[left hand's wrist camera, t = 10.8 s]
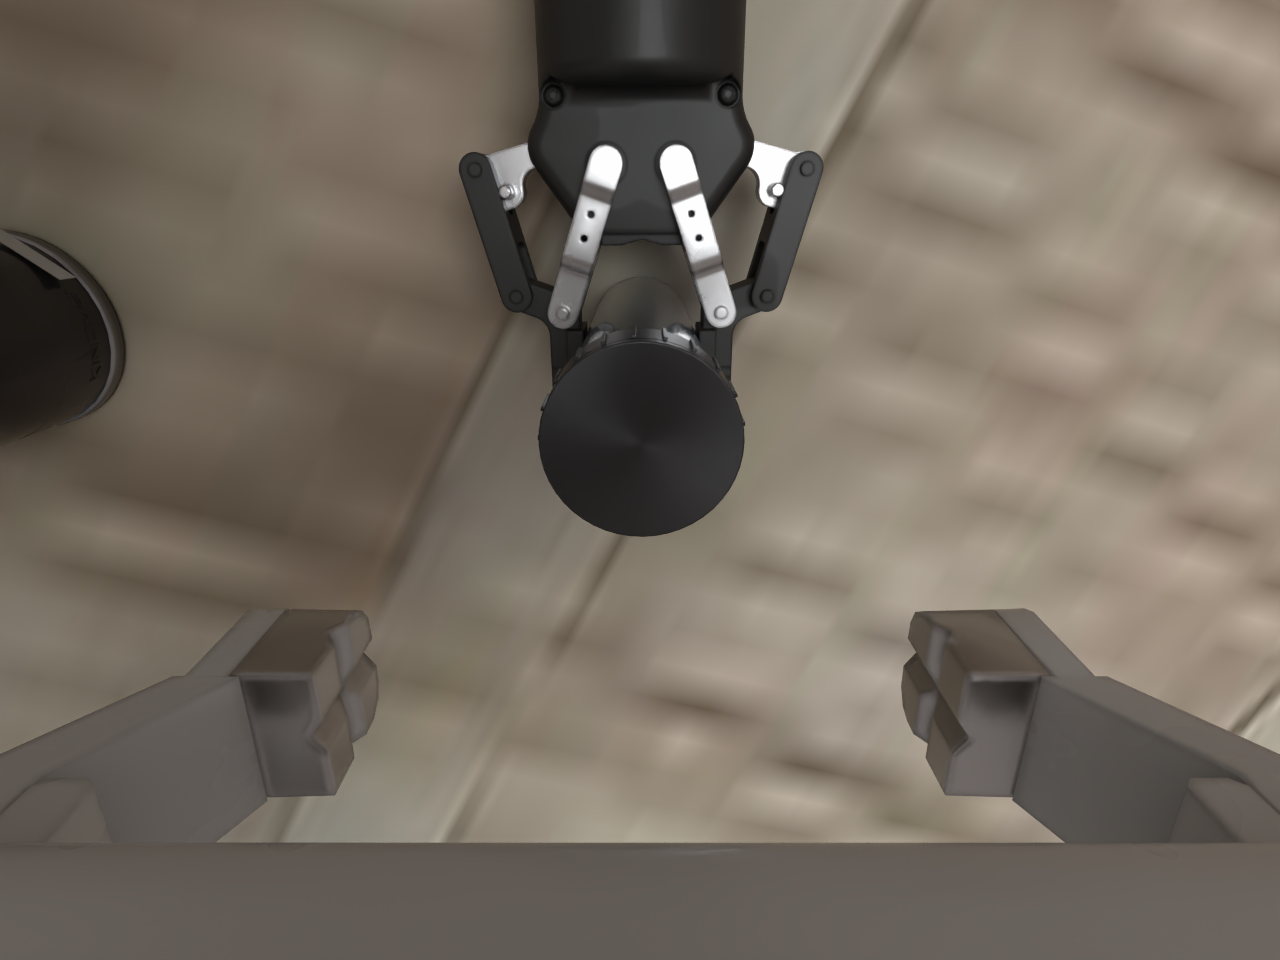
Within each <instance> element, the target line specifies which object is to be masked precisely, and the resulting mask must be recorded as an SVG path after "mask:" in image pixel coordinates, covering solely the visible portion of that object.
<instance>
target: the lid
mask: <svg viewBox="0 0 1280 960" xmlns="http://www.w3.org/2000/svg"><path fill="white" fill-rule="evenodd" d="M553 383H554V386H553V388H552V390H551V393H550V394H547V396H546V398H545V401H544V403H543V405H542V407H541V411H543V413H542V416H541V420H540V427H539V435H538V440H539V450H540V457H541V461H542V465H543V468H544V471H545V473H546V476H547V478H548V480H549V482H550V484H551V486H552V487H553V489H554V491H555V492H556V494H557V495H558V496H559V497H560V499H561V500H562V501H563V503H565V504H566V505H567V506H568V507H569V508H570V509H571V510H572V511H573V512H574V513H575V514H577V515H578V516H579V517H581V518H582V519H584V520H585V521H587V522H589V523H590V524H592V525H594V526H596V527H599V528H601V529H603V530H606V531H609V532H613V533H616V534H621V535H627V536H640V537H645V536H657V535H662V534H667V533H671V532H674V531H677V530H680V529H682V528H684V527H687V526H689V525H691V524H693V523H694V522H696V521H698V520H699V519H701V518H703V517H704V516H705V515H706V514H708V513H709V512H710V511H711V510H713V509H714V508H715V506H716V505H717V504H718V503H719V502H720V501H721V500H722V499H723V498H724V496H725V495H726V494H727V492H728V491H729V489H730V488H731V486H732V484H733V482H734V480H735V479H736V476H737V473H738V471H739V468H740V465H741V461H742V457H743V451H744V426H745V422H744V420H743V417H742V415H741V412H740V409H739V406H738V403H737V401H736V399H735V398H736V397H738V396H737V393H736V391H735V389H734V387H733V385H732V383H731V381H728V382H727V380H726V378H725V376H724V374H723V373H722V370H721V368H720V366H719V364H718V362H717V359H716V358H715V357H713V358H711V357H710V356H709V355H708V354H707V353H706V352H705V351H703V350H702V349H701V348H700V347H698V346H697V345H696V344H695V342H694V340H693V339H691V338H690V340H687V339H685V338H683V337H681V336H679V335H676V334H673V333H670V332H667V330H666V328H662V330H657V329H649V328H636V325H634V326H632V329H625V330H621V331H616V332H613V333H610V334H607V332H604V333H603V334H602V337H600V338H598V339H596V340H594V341H592V342H591V343H589V344H588V345H586V346H585V347H583V348H581V346H580V347H579V348H577V351H576V353H575V355H574V356H573V357H572V358H571V359H570V360H569V362H568V363H567V364H566V365H565V367H564V368H563V369H562V368H559V370H558V372H557V374H556V376H555V378H554V380H553Z"/></svg>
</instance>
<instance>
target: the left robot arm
mask: <svg viewBox="0 0 1280 960" xmlns="http://www.w3.org/2000/svg"><path fill="white" fill-rule="evenodd" d="M371 639H372V635H371V630H370V625H369V620H368V617H367V616H366V615H365V613H364V612H363V611H358V610H307V609H292V610H289V609H256V610H250V611H247V612H246V613H245V614H244V615H243V616H242V617H241V619H240V620H239V621H238V622H237V623H236V624H235V625H234V626H233V627H232V628H231V629H230V630H229V631H228V632H227V633H226V634H225V635H224V636H223V637H222V638H221V639H220V640H219V641H218V642H217V643H216V645H215V646H214V647H213V648H212V649H211V650H210V651H209V652H208V653H207V654H206V655H205V656H204V657H203V658H202V659H201V660H200V661H199V662H198V663H197V664H196V665H195V666H194V667H193V668H192V669H191V670H190V672H189V673H188V674H187V675H186V676H176V677H170V678H168V679H166V680H164V681H162V682H159V683H157V684H155V685H153V686H151V687H148V688H146V689H144V690H142V691H139V692H137V693H135V694H133V695H131V696H128V697H126V698H124V699H122V700H119V701H117V702H115V703H113V704H111V705H108V706H106V707H104V708H102V709H100V710H97V711H95V712H93V713H91V714H88V715H86V716H84V717H82V718H80V719H77V720H75V721H73V722H71V723H68V724H66V725H64V726H62V727H60V728H57V729H55V730H53V731H51V732H48V733H46V734H44V735H42V736H40V737H37V738H35V739H33V740H31V741H29V742H26V743H24V744H22V745H20V746H17V747H15V748H13V749H11V750H9V751H6V752H4V753H2V754H0V960H1280V754H1278V753H1275V752H1273V751H1271V750H1269V749H1267V748H1264V747H1262V746H1260V745H1258V744H1255V743H1253V742H1251V741H1249V740H1247V739H1244V738H1242V737H1240V736H1238V735H1236V734H1233V733H1231V732H1229V731H1227V730H1225V729H1222V728H1220V727H1218V726H1216V725H1213V724H1211V723H1209V722H1207V721H1205V720H1202V719H1200V718H1198V717H1196V716H1194V715H1191V714H1189V713H1187V712H1185V711H1183V710H1180V709H1178V708H1176V707H1174V706H1171V705H1169V704H1167V703H1165V702H1163V701H1160V700H1158V699H1156V698H1154V697H1152V696H1149V695H1147V694H1145V693H1143V692H1140V691H1138V690H1136V689H1134V688H1132V687H1129V686H1127V685H1125V684H1123V683H1121V682H1118V681H1116V680H1114V679H1112V678H1110V677H1104V676H1094V675H1093V674H1092V672H1091V671H1090V670H1089V669H1088V668H1087V667H1086V666H1085V665H1084V664H1083V663H1082V662H1081V661H1080V660H1079V659H1078V658H1077V657H1076V656H1075V655H1074V654H1073V653H1072V652H1071V651H1070V650H1069V649H1068V648H1067V646H1066V645H1065V644H1064V643H1063V642H1062V641H1061V640H1060V639H1059V638H1058V637H1057V636H1056V635H1055V634H1054V633H1053V632H1052V631H1051V630H1050V629H1049V628H1048V627H1047V626H1046V625H1045V624H1044V623H1043V621H1042V620H1041V619H1040V618H1039V617H1038V616H1037V615H1036V614H1035V613H1034V612H1032V611H1030V610H1027V609H1024V608H1021V609H996V610H956V611H921V612H915V614H914V616H913V618H912V620H911V623H910V629H909V635H908V639H909V641H910V643H911V644H912V646H913V648H914V649H915V651H916V653H915V654H914V655H913V656H912V658H911V659H910V660H909V661H908V662H907V663H906V664H905V665H904V667H903V676H902V684H901V689H902V701H903V708H904V712H905V715H906V719H907V721H908V724H909V726H910V728H911V730H912V732H913V734H914V735H916V736H917V737H919V738H920V739H922V740H923V741H925V742H926V743H928V746H927V752H926V759H927V761H928V763H929V765H930V767H931V769H932V771H933V773H934V775H935V777H936V778H937V780H938V782H939V784H940V786H941V788H942V790H943V792H944V794H945V795H951V796H987V797H1013V799H1012V800H1013V801H1014V802H1015V803H1016V804H1018V805H1019V806H1020V807H1021V808H1023V809H1024V810H1025V811H1026V812H1028V813H1029V814H1030V815H1031V816H1033V817H1034V818H1035V819H1036V820H1038V821H1039V822H1040V823H1041V824H1043V825H1044V826H1045V827H1046V828H1048V829H1049V830H1050V831H1051V832H1053V833H1054V834H1055V835H1056V836H1058V837H1059V838H1060V839H1061V840H1063V841H1064V842H1065V843H215V842H216V841H218V840H219V839H220V838H221V837H223V836H224V835H225V834H226V833H228V832H229V831H230V830H231V829H233V828H234V827H235V826H236V825H238V824H239V823H240V822H241V821H243V820H244V819H245V818H246V817H248V816H249V815H250V814H251V813H253V812H254V811H255V810H256V809H258V808H259V807H260V806H261V805H263V804H264V803H265V802H266V801H267V797H292V796H327V795H335V794H336V792H337V790H338V788H339V786H340V784H341V782H342V781H343V779H344V777H345V775H346V773H347V771H348V769H349V767H350V765H351V763H352V761H353V759H354V752H353V746H352V743H354V742H355V741H357V740H358V739H360V738H361V737H363V736H364V735H366V734H367V732H368V730H369V728H370V725H371V723H372V721H373V719H374V715H375V711H376V706H377V701H378V674H377V667H376V665H375V664H374V663H373V662H372V661H371V660H370V659H369V658H368V656H367V655H366V654H365V653H364V651H365V649H366V648H367V646H368V644H369V643H370V641H371Z"/></svg>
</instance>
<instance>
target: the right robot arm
mask: <svg viewBox="0 0 1280 960" xmlns="http://www.w3.org/2000/svg"><path fill="white" fill-rule="evenodd" d="M534 2H535V22H536V42H537V62H538V82H539V107H538V112H537V116H536V119H535V122H534V124H533V126H532V129H531V131H530V133H529V137H528V142H527V143H524V144H520V145H517V146H514V147H510V148H507V149H504V150H501V151H497V152H494V153H491V154H487V155H485V154H481V153H477V152H471V153H468V154H466V155H465V156H464V157H463V158H462V159H461V161H460V164H459V173H460V176H461V179H462V182H463V185H464V188H465V191H466V194H467V197H468V200H469V203H470V206H471V209H472V212H473V215H474V218H475V221H476V224H477V227H478V230H479V233H480V236H481V239H482V242H483V245H484V248H485V251H486V254H487V258H488V261H489V264H490V267H491V270H492V273H493V276H494V279H495V282H496V285H497V288H498V291H499V294H500V297H501V300H502V302H503V304H504V306H505V307H506V308H507V309H508V310H510V311H512V312H522V313H525V314H528V315H531V316H533V317H536V318H538V319H540V320H542V321H543V322H544V323H545V324H546V325H547V327H548V329H549V332H550V342H551V362H552V382H553V380H554V378H555V376H556V374H557V372H558V370H559V368H562V369H563V368H564V367H565V365H566V364H567V363H568V362H569V360H570V359H571V358H572V357H573V356H574V355H575V353H576V351H577V348H579V347H580V346H581V347H582V345H583V342H584V340H585V337H586V335H587V322H582V308H583V304H584V301H585V298H586V294H587V291H588V288H589V284H590V281H591V278H592V275H593V271H594V268H595V266H596V262H597V259H598V256H599V253H600V249H601V246H602V245H624V244H627V243H630V242H634V241H637V240H646V241H649V242H653V243H657V244H660V245H682V249H683V252H684V255H685V258H686V261H687V264H688V267H689V270H690V273H691V276H692V279H693V282H694V285H695V289H696V292H697V295H698V298H699V301H700V304H701V320H700V322H695V333H696V335H697V338H698V340H699V343H700V345H701V348H702V350H703V351H705V352H706V353H707V354H708V355H709V356H710V357H711V358H713V357H715V358H716V359H717V362H718V364H719V366H720V368H721V370H722V373H723V374H724V376H725V378H726V380H727V382H728V381H731V360H732V335H733V330H734V327H735V326H736V324H737V323H738V322H739V321H740V320H741V319H743V318H745V317H747V316H750V315H752V314H755V313H758V312H760V311H764V312H769V311H772V310H774V309H776V308H777V307H778V306H779V304H780V303H781V300H782V297H783V294H784V291H785V288H786V285H787V282H788V279H789V276H790V272H791V269H792V266H793V263H794V260H795V257H796V254H797V251H798V247H799V244H800V241H801V238H802V235H803V232H804V229H805V226H806V223H807V219H808V216H809V213H810V210H811V207H812V204H813V201H814V198H815V195H816V191H817V188H818V185H819V182H820V179H821V176H822V173H823V162H822V159H821V157H820V156H819V155H818V154H817V153H815V152H813V151H801V152H792V151H788V150H785V149H782V148H778V147H775V146H771V145H768V144H764V143H761V142H757V141H754V135H753V132H752V129H751V127H750V125H749V123H748V121H747V118H746V115H745V112H744V107H743V99H742V92H743V67H744V42H745V16H746V0H534ZM746 168H748V169H750V170H751V171H752V172H753V173H754V175H755V178H756V197H757V199H758V201H759V202H760V203H761V204H762V205H764V206H767V207H768V208H767V212H766V215H765V218H764V222H763V225H762V228H761V232H760V235H759V238H758V242H757V245H756V248H755V252H754V255H753V258H752V262H751V265H750V268H749V272H748V275H747V278H746V279H745V280H743V281H740V282H737V283H735V284H732V285H729V283H728V280H727V277H726V273H725V270H724V266H723V261H722V257H721V253H720V250H719V246H718V243H717V240H716V236H715V233H714V229H713V226H712V223H711V217H712V216H713V214H714V213H715V211H716V210H717V209H718V207H719V206H720V204H721V203H722V202H723V200H724V199H725V197H726V196H727V195H728V193H729V192H730V190H731V189H732V187H733V186H734V185H735V183H736V182H737V180H738V179H739V178H740V176H741V175H742V173H743V172H744V170H745V169H746ZM535 169H536V170H537V171H538V173H539V174H540V175H541V177H542V178H543V180H544V181H545V182H546V184H547V185H548V187H549V188H550V189H551V191H552V192H553V193H554V195H555V196H556V198H557V199H558V200H559V202H560V203H561V204H562V206H563V207H564V209H565V210H566V211H567V213H568V214H569V216H570V217H571V218H572V223H571V227H570V230H569V234H568V237H567V241H566V244H565V248H564V251H563V255H562V259H561V263H560V269H559V272H558V276H557V279H556V283H555V286H551V285H548V284H546V283H543V282H540V281H537V278H536V275H535V271H534V268H533V265H532V262H531V259H530V255H529V252H528V249H527V246H526V243H525V239H524V236H523V233H522V230H521V227H520V223H519V220H518V217H517V214H516V211H515V208H518V207H520V206H521V205H522V204H523V203H524V202H525V200H526V197H527V188H526V181H527V178H528V176H529V174H530V173H531V172H532V171H533V170H535ZM123 361H124V346H123V338H122V333H121V329H120V326H119V322H118V319H117V317H116V315H115V312H114V310H113V308H112V306H111V304H110V302H109V300H108V299H107V297H106V295H105V294H104V292H103V291H102V289H101V288H100V287H99V285H98V284H97V283H96V282H95V280H94V279H93V278H92V277H91V276H90V275H89V274H88V273H87V272H86V271H85V269H84V268H83V267H81V266H80V265H79V264H78V263H77V262H76V261H75V260H73V259H72V258H71V257H69V256H68V255H67V254H65V253H64V252H62V251H61V250H59V249H58V248H56V247H54V246H52V245H50V244H49V243H47V242H45V241H42V240H40V239H38V238H35V237H32V236H29V235H26V234H23V233H19V232H14V231H7V230H2V229H0V446H2V445H5V444H7V443H10V442H12V441H15V440H18V439H21V438H23V437H26V436H29V435H31V434H34V433H36V432H39V431H41V430H44V429H47V428H49V427H52V426H54V425H60V424H64V423H68V422H70V421H73V420H75V419H78V418H80V417H83V416H85V415H88V414H90V413H91V412H93V411H95V410H96V409H98V408H99V407H100V406H101V405H103V404H104V403H105V402H106V401H107V400H108V398H109V397H110V396H111V395H112V393H113V392H114V390H115V388H116V386H117V384H118V382H119V379H120V376H121V373H122V368H123ZM553 386H554V383H553Z"/></svg>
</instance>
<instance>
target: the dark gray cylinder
mask: <svg viewBox="0 0 1280 960" xmlns="http://www.w3.org/2000/svg"><path fill="white" fill-rule="evenodd" d="M634 325H636V328H649V329H657V330H662V328H666V330H667V332H670V333H673V334H676V335H679V336H681V337H683V338H685V339H687V340H690V338H691V339H693V340H694V342H695V344H696V345H697V346H698V347H700V348H701V345H700V343H699V340H698V338H697V335H696V333H695V330H694V328H693V325H692V323H691V320H690V318H689V315H688V313H687V310H686V308H685V305H684V303H683V301H682V300H681V298H680V297H679V295H678V294H677V293H676V292H675V291H674V290H673V289H672V288H671V287H669V286H668V285H666V284H665V283H663V282H661V281H659V280H656V279H652V278H647V277H636V278H631V279H627V280H624V281H622V282H620V283H618V284H616V285H615V286H613V287H612V288H611V289H610V290H609V291H608V292H607V293H606V294H605V295H604V296H603V298H602V299H601V301H600V303H599V305H598V307H597V309H596V312H595V314H594V317H593V320H592V322H591V325H590V327H589V330H588V332H587V335H586V337H585V340H584V342H583V345H582V347H581V348H583V347H585V346H586V345H588V344H589V343H591V342H592V341H594V340H596V339H598V338H600V337H602V334H603V333H604V332H607V334H610V333H613V332H616V331H621V330H625V329H632V326H634ZM701 349H702V348H701Z"/></svg>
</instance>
